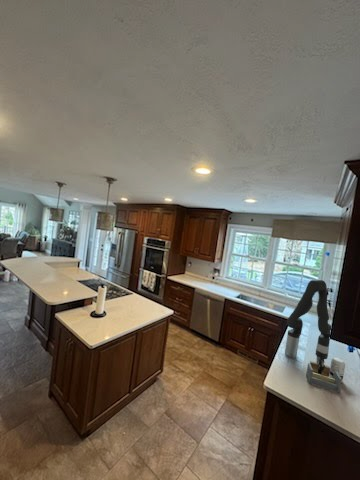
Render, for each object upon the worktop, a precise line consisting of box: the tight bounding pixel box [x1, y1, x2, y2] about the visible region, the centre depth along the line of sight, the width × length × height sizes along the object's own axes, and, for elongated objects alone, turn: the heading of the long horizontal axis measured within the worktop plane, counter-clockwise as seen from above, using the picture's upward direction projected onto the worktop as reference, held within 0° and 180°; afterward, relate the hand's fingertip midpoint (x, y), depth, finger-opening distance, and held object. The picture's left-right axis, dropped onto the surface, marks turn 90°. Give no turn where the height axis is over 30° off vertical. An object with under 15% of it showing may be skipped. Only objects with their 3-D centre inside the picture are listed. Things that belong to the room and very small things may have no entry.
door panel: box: [309, 360, 330, 377], centre depth 157 cm, size 3×12×9 cm, turn 69°
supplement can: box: [329, 356, 346, 383], centre depth 156 cm, size 8×8×15 cm
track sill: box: [305, 362, 342, 394], centre depth 148 cm, size 9×18×10 cm, turn 69°
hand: (318, 372), depth 157 cm, fingers closed on door panel, 2 cm apart
